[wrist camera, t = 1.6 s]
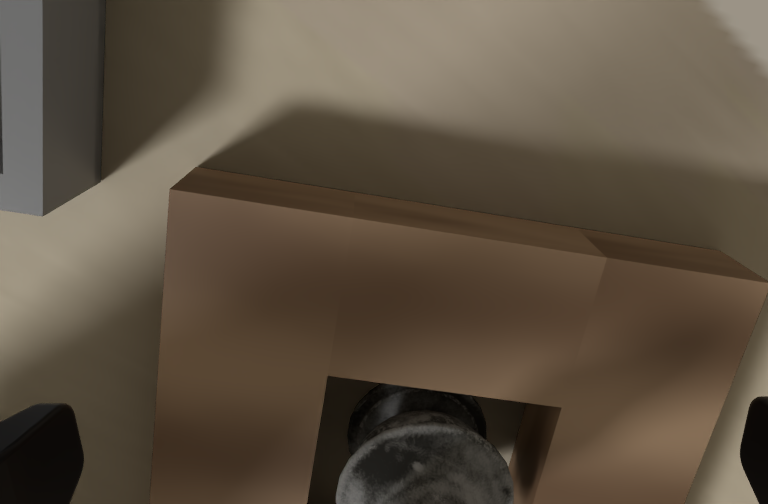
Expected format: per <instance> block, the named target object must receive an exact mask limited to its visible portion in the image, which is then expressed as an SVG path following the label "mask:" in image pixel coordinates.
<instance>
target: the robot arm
mask: <svg viewBox="0 0 768 504" xmlns="http://www.w3.org/2000/svg"><path fill="white" fill-rule="evenodd" d="M740 458H741V463H742V466H743V469H744V471H745V474H746V476H747V478H748V480H749V482H750V484H751V487H752V489H753V491H754V493H755V495H756V498H757V500H758V502H759V504H768V397H757V398H755V399H754V400H753V401H752V402H751V404H750V407H749V410H748V415H747V419H746V424H745V429H744V433H743V438H742V442H741V447H740ZM83 463H84V455H83V449H82V445H81V440H80V436H79V431H78V427H77V423H76V418H75V414H74V411H73V409H72V408H71V406H69V405H68V404H66V403H40V404H35V405H33V406H31V407H29V408H27V409H25V410H23V411H21V412H19V413H17V414H15V415H13V416H11V417H9V418H7V419H5V420H3V421H1V422H0V504H70V501H71V499H72V496H73V494H74V491H75V488H76V486H77V483H78V481H79V478H80V476H81V473H82V469H83Z"/></svg>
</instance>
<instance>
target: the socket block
mask: <svg viewBox="0 0 768 504" xmlns="http://www.w3.org/2000/svg"><path fill="white" fill-rule="evenodd" d="M767 294H768V281H767V280H765V279H763V278H762V277H760V276H759V275H757V274H756V273H754V272H752V271H751V270H749V269H748V268H746V267H745V266H743V265H741V264H740V263H738V262H737V261H735V260H734V259H732V258H730V257H729V256H727V255H726V254H724V253H723V252H721V251H718V250H711V249H705V248H699V247H693V246H686V245H680V244H674V243H668V242H662V241H655V240H649V239H643V238H637V237H630V236H624V235H618V234H612V233H605V232H599V231H593V230H587V229H580V228H574V227H568V226H562V225H555V224H549V223H543V222H537V221H530V220H524V219H518V218H512V217H506V216H499V215H493V214H487V213H481V212H474V211H468V210H462V209H456V208H449V207H443V206H437V205H431V204H424V203H418V202H412V201H406V200H399V199H393V198H387V197H381V196H375V195H368V194H362V193H356V192H350V191H343V190H337V189H331V188H325V187H318V186H312V185H306V184H300V183H293V182H287V181H281V180H275V179H268V178H262V177H256V176H250V175H243V174H237V173H231V172H225V171H219V170H212V169H206V168H200V167H195V168H194V169H193V170H192V171H191V172H189V173H188V174H187V175H186V176H185V177H184V178H182V179H181V180H180V181H179V182H178V183H176V184H175V185H174V186H173V187H172V188H170V192H169V207H168V223H167V238H166V254H165V269H164V284H163V300H162V315H161V331H160V346H159V362H158V377H157V392H156V408H155V423H154V439H153V454H152V470H151V485H150V500H149V504H307V500H308V494H309V488H310V482H311V475H312V469H313V463H314V457H315V451H316V445H317V439H318V432H319V426H320V420H321V414H322V408H323V402H324V395H325V389H326V383H327V377H328V376H333V377H341V378H348V379H355V380H363V381H370V382H377V383H385V384H392V385H399V386H407V387H414V388H421V389H429V390H436V391H443V392H451V393H458V394H465V395H473V396H480V397H487V398H495V399H502V400H509V401H517V402H524V403H527V404H526V407H525V411H524V414H523V418H522V421H521V425H520V428H519V432H518V436H517V439H516V443H515V446H514V450H513V453H512V457H511V460H510V464H509V468H508V469H509V471H510V474H511V477H512V480H513V490H514V502H513V504H684V503H685V500H686V498H687V495H688V493H689V490H690V488H691V485H692V483H693V480H694V478H695V475H696V473H697V470H698V468H699V465H700V462H701V460H702V457H703V455H704V452H705V450H706V447H707V445H708V442H709V440H710V437H711V435H712V432H713V430H714V427H715V425H716V422H717V420H718V417H719V415H720V412H721V410H722V407H723V405H724V402H725V399H726V397H727V394H728V392H729V389H730V387H731V384H732V382H733V379H734V377H735V374H736V372H737V369H738V367H739V364H740V362H741V359H742V357H743V354H744V352H745V349H746V347H747V344H748V341H749V339H750V336H751V334H752V331H753V329H754V326H755V324H756V321H757V319H758V316H759V314H760V311H761V309H762V306H763V304H764V301H765V299H766V296H767Z"/></svg>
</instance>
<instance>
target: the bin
mask: <svg viewBox="0 0 768 504" xmlns="http://www.w3.org/2000/svg"><path fill="white" fill-rule="evenodd" d="M105 13H106V0H0V210H4V211H10V212H17V213H23V214H30V215H37V216H44V215H46V214H48V213H49V212H51V211H53V210H54V209H56V208H58V207H59V206H61V205H63V204H64V203H66V202H68V201H69V200H71V199H73V198H74V197H76V196H78V195H80V194H81V193H83V192H85V191H86V190H88V189H90V188H91V187H93V186H95V185H96V184H98V183H100V182H101V152H102V117H103V83H104V48H105Z"/></svg>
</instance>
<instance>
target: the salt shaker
mask: <svg viewBox="0 0 768 504" xmlns="http://www.w3.org/2000/svg"><path fill="white" fill-rule="evenodd" d="M347 436H348V445H349V451H350V454H351V457H350V458H349V460H348V462H347V464H346V465H345V467H344V469H343V471H342V473H341V475H340V477H339V482H338V487H337V492H336V504H513V502H514V490H513V480H512V477H511V474H510V471H509V469H508V466H507V463H506V461H505V460H504V459H503V457H502V456H501V455H500V453H499V452H498V451H497V449H496V448H495V447H494V446H493V445H492V444H490V443H489V442H488V441H486V422H485V419H484V416H483V414H482V411H481V408H480V406H479V405H478V403H477V402H476V401H475V399H474V398H473V397H472V395H465V394H458V393H451V392H443V391H436V390H429V389H421V388H414V387H407V386H399V385H392V384H385V383H382V384H380V385H379V386H377V387H376V388H374V389H372V390H371V391H370V392H369V393H368V394H367V395H366V396H365V397H364V398H363V399H362V400H361V401H360V402H359V403H358V405H357V407H356V408H355V410H354V412H353V414H352V416H351V418H350V423H349V428H348V434H347Z"/></svg>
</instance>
